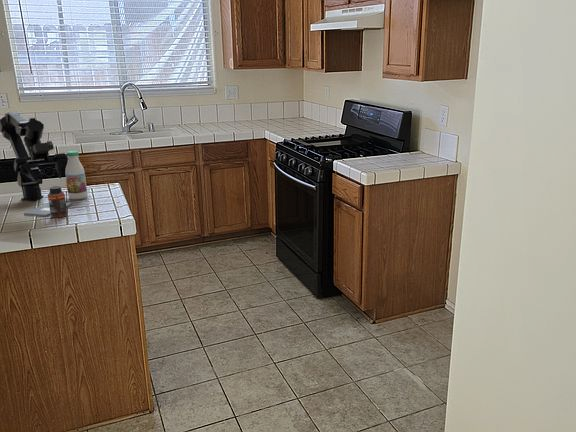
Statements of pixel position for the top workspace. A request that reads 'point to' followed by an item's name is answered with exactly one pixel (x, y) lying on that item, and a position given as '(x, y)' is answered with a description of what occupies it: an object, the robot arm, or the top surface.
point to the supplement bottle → (57, 202)
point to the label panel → (43, 210)
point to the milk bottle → (75, 177)
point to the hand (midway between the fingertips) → (48, 179)
